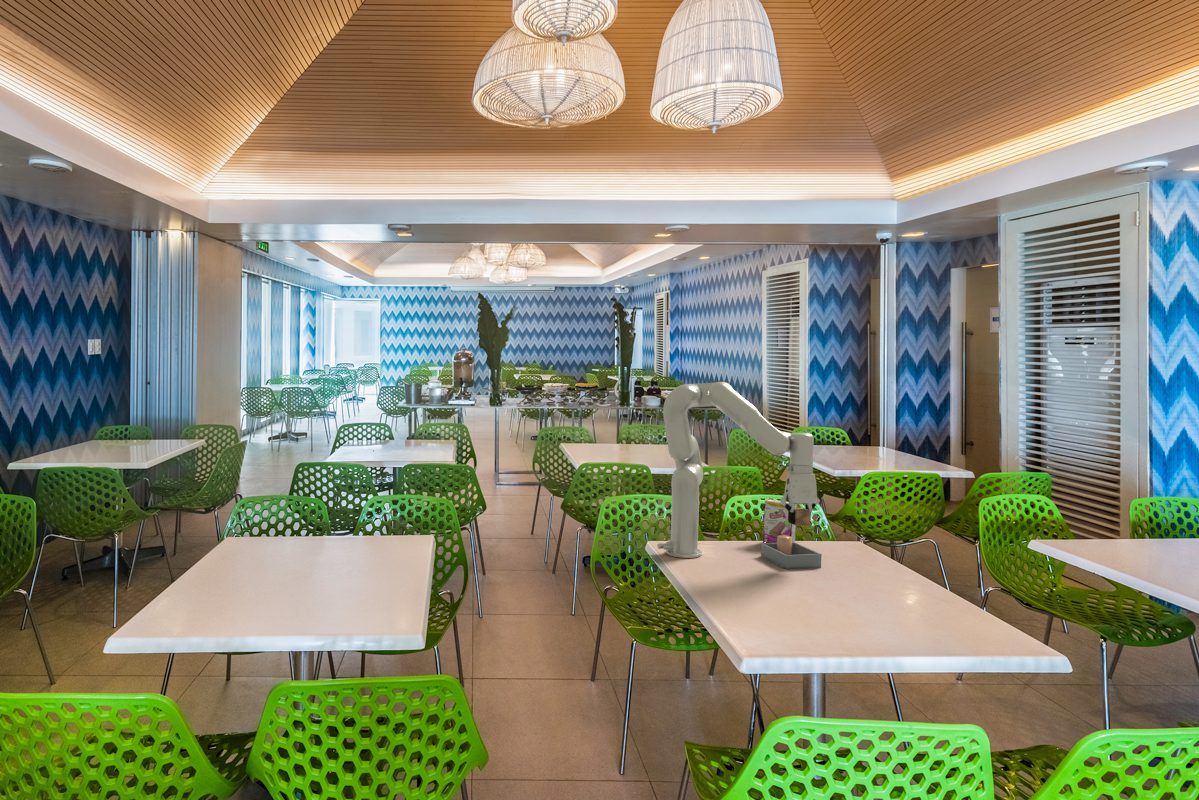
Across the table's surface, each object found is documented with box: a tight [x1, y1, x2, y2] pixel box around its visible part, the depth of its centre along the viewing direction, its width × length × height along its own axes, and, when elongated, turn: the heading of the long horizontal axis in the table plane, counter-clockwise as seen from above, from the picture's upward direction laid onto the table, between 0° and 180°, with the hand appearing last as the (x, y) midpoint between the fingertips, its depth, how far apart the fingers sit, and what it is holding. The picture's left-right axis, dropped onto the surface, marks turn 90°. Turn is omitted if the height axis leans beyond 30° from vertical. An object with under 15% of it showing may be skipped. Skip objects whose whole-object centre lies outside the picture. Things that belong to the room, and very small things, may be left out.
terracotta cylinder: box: [777, 535, 792, 555], centre depth 265 cm, size 5×5×7 cm
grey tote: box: [760, 541, 822, 570], centre depth 261 cm, size 13×17×4 cm
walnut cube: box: [793, 507, 811, 527], centre depth 256 cm, size 5×5×5 cm
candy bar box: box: [762, 499, 798, 543], centre depth 286 cm, size 11×5×16 cm, turn 58°
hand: (799, 522), depth 256 cm, fingers closed on walnut cube, 5 cm apart
